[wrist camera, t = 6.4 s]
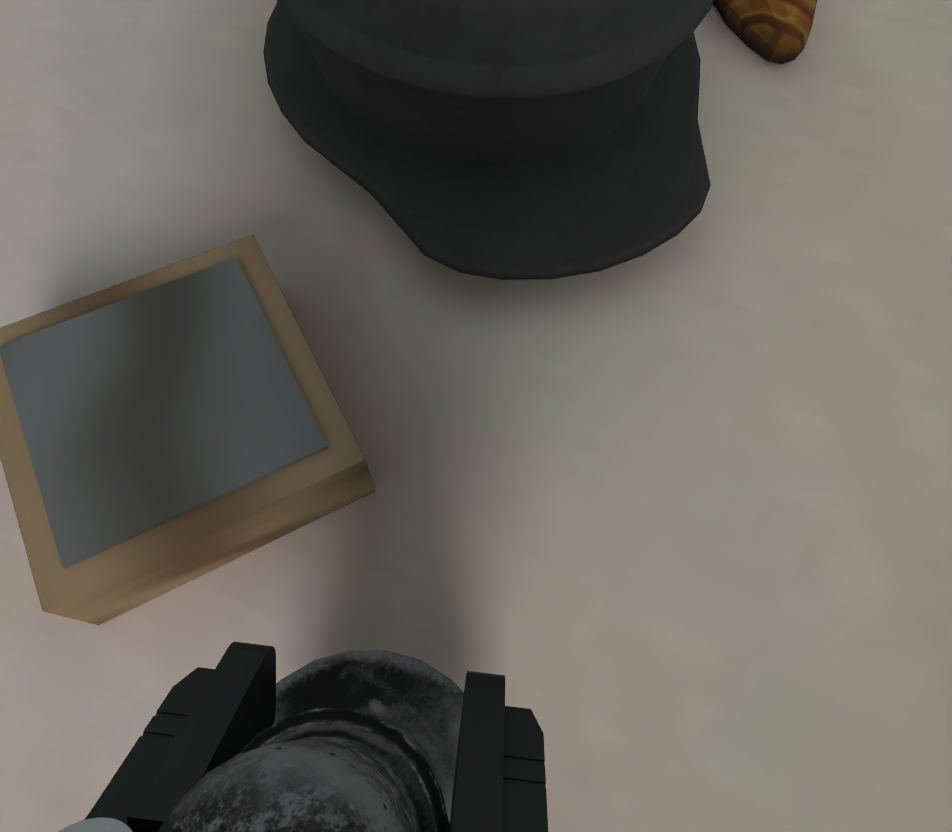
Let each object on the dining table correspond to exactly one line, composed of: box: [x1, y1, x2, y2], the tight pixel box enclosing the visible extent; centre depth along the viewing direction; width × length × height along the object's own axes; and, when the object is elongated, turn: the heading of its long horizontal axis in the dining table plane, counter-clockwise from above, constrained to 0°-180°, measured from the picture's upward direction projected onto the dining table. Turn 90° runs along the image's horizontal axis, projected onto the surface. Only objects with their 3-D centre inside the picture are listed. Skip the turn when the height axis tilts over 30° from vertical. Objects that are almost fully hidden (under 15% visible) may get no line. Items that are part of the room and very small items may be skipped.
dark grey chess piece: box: [158, 651, 464, 832], centre depth 11 cm, size 6×6×12 cm
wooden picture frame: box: [0, 235, 375, 625], centre depth 21 cm, size 9×9×3 cm
